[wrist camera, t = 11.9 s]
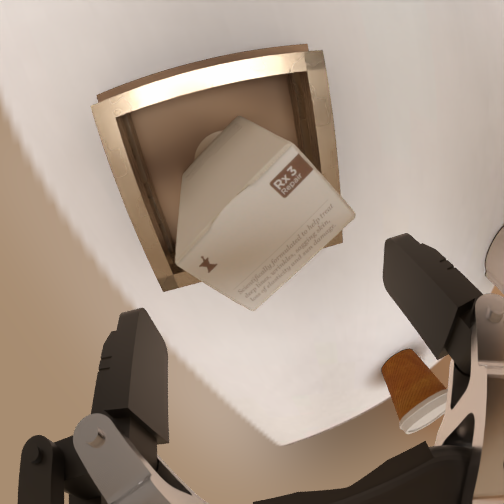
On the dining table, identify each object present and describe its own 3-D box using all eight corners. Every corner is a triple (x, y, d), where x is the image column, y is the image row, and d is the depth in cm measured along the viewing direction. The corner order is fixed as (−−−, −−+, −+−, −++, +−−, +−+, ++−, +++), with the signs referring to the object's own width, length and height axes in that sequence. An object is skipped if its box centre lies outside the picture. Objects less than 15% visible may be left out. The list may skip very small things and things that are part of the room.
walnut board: (328, 220, 26) (330, 223, 25) (160, 266, 25) (160, 269, 25) (304, 44, 17) (307, 43, 17) (98, 94, 17) (96, 95, 16)
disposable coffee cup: (430, 339, 42) (466, 392, 32) (402, 375, 46) (430, 426, 36) (391, 344, 39) (429, 407, 29) (362, 382, 44) (391, 441, 34)
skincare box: (223, 208, 23) (254, 322, 13) (178, 172, 21) (168, 271, 10) (281, 149, 21) (365, 223, 11) (237, 108, 19) (292, 140, 9)
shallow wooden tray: (321, 217, 25) (342, 242, 21) (165, 259, 24) (163, 291, 21) (298, 54, 17) (322, 50, 14) (109, 101, 17) (90, 106, 13)
